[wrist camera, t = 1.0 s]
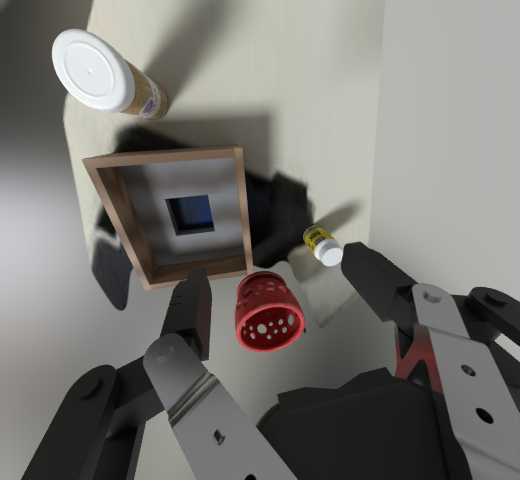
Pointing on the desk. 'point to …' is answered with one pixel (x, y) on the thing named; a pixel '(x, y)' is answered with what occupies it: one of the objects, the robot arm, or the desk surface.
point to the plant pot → (266, 312)
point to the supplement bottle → (323, 245)
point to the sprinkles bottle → (105, 77)
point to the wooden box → (161, 215)
